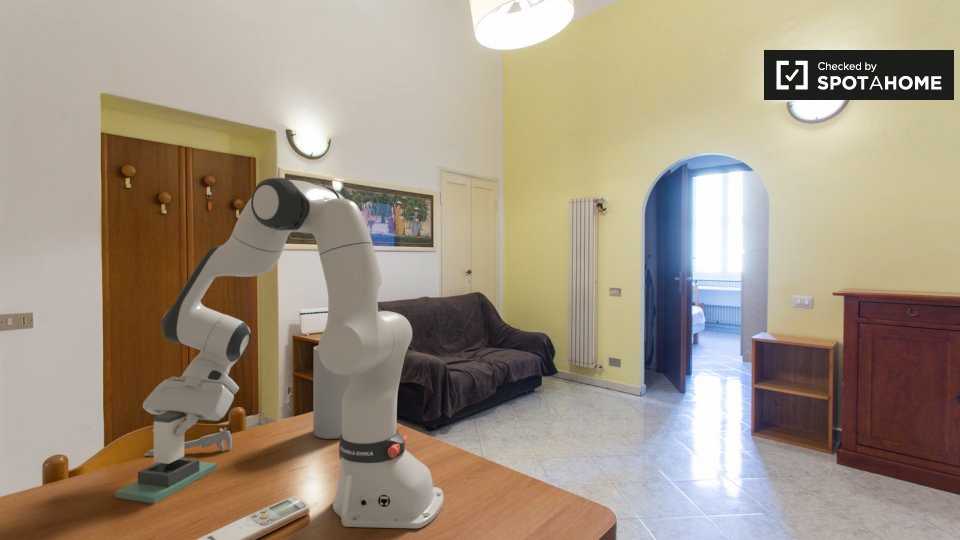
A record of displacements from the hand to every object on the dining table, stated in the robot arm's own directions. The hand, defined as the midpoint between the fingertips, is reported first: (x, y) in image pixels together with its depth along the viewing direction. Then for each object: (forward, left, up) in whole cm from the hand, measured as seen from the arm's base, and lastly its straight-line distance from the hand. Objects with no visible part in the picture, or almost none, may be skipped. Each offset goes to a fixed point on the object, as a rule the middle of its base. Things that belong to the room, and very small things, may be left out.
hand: (166, 434), depth 99 cm
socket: (0, -1, -11) cm, 11 cm away
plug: (0, -1, -6) cm, 6 cm away
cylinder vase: (-20, -37, -11) cm, 43 cm away
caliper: (+9, -15, -12) cm, 21 cm away
